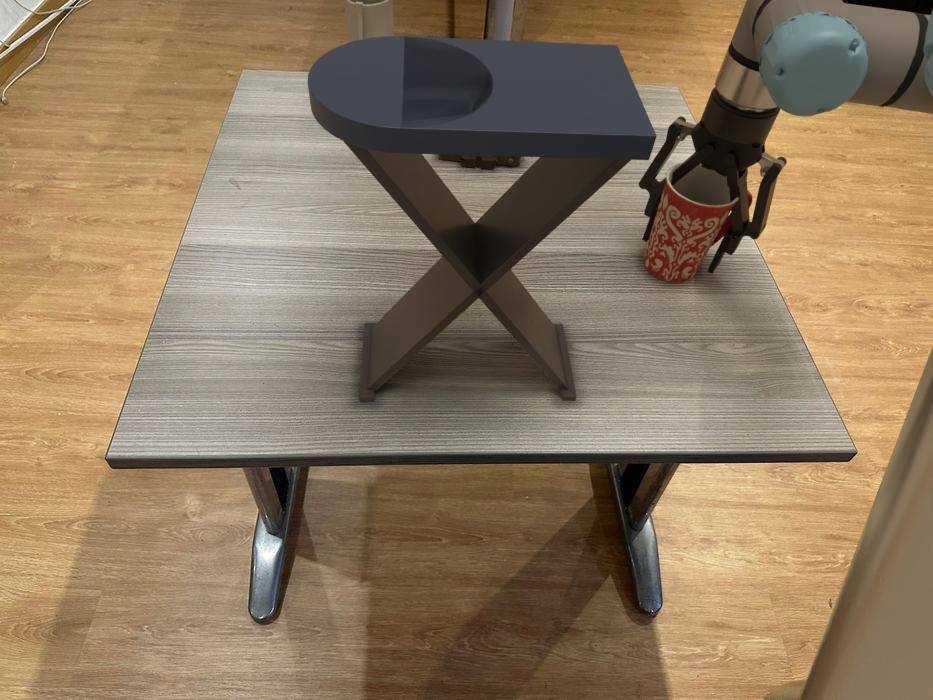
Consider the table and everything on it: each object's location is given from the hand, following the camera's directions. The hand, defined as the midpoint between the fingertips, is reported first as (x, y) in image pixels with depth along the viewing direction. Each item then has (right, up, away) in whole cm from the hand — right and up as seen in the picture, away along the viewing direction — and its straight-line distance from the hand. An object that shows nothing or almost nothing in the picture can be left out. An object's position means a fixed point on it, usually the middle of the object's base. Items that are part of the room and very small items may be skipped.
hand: (680, 251), depth 88 cm
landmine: (-27, +20, +18) cm, 38 cm away
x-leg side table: (-30, -15, -12) cm, 36 cm away
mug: (0, -2, +1) cm, 2 cm away
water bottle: (-45, +24, +20) cm, 54 cm away
